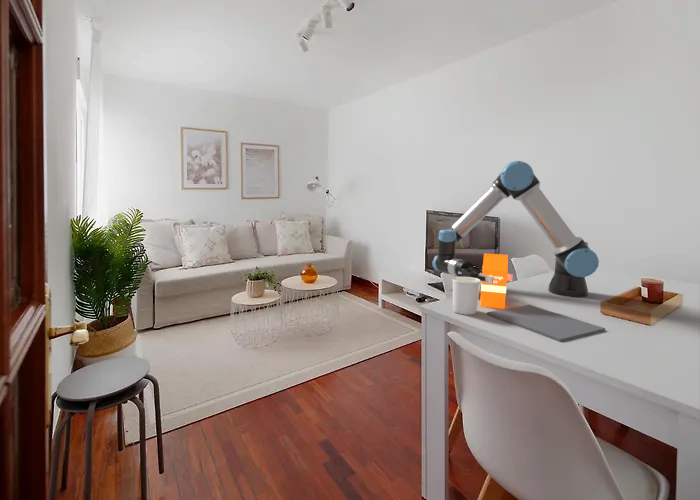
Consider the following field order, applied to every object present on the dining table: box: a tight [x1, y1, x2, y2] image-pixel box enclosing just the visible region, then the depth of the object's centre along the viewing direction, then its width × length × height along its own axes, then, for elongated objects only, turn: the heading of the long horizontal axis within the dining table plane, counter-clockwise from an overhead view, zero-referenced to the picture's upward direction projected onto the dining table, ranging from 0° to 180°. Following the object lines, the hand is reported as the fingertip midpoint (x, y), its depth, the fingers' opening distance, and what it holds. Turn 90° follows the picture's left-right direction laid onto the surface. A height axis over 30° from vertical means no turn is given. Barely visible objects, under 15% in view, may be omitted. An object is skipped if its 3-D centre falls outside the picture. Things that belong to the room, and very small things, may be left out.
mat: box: [486, 304, 606, 343], centre depth 128 cm, size 22×28×1 cm
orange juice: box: [479, 253, 509, 309], centre depth 146 cm, size 8×9×20 cm
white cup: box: [451, 276, 482, 316], centre depth 138 cm, size 10×10×12 cm
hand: (502, 279), depth 142 cm, fingers closed on orange juice, 10 cm apart
